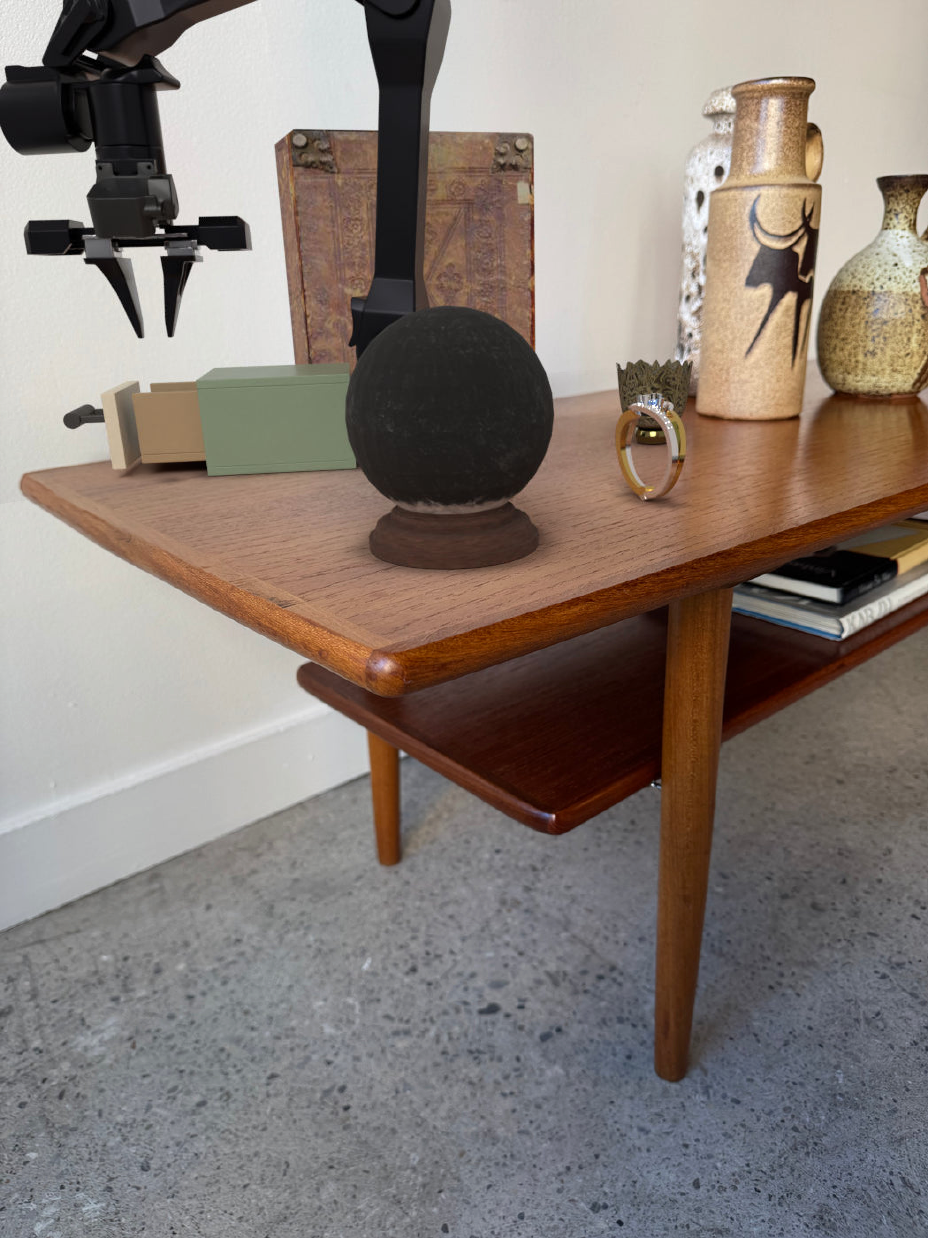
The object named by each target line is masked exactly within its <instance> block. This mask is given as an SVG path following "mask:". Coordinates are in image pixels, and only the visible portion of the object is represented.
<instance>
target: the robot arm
mask: <svg viewBox="0 0 928 1238" xmlns="http://www.w3.org/2000/svg"><path fill="white" fill-rule="evenodd" d="M258 1H259V0H62V9H61V11H60V14H59V17H58V19H57V21H56V23H55V26H54V29H53V31H52V33H51V36H50V38H49V41H48V42H47V45H46V48H45V51H44V53H43V56H42V58H41V63H42V65H33V66H24V65H21V64H11V65H9V64H8V65H5V67H4V76H5V80H6V81H5V82H4V83H3V84H2V85H1V86H0V130H1V132H2V135H3V136H4V138H5V140H6V142H7V143H8V144H9V146H10V147H11V148H12V149H13V150H14V151H15V153H18V154H19V155H21V156H25V157H27V156H43V155H46V156H47V155H60V154H61V155H63V154H79V153H81V154H82V153H86V152H88V151H89V150H90V148H91V146H92V144H93V145H94V152H95V159H94V163H95V167H94V168H95V174H96V179H95V183H93V184H92V186H91V187H90V189H89V191H88V192H87V194H86V195H85V197H86V201H87V205H88V210H89V214H90V218H91V223H92V226H93V227H92V226H91V227H89V226H87V227H86V226H85V224H84V222H83V221H79V220H73V219H35V220H33V219H31V220H28V221H27V223H26V224H25V226H24V228H23V239H24V246H25V249H26V255H27V256H41V257H56V256H57V257H61V256H62V257H63V256H64V257H65V256H66V257H67V256H82V255H83V254H85V257H84V258H82V260H83V262H84V265H89V266H96V267H97V268H98V270H99V271H100V272H101V273H102V275H103V276H104V277H105V278H106V280H107V281H108V283H109V285H110V286H111V288H112V290H113V291H114V293H115V294H116V296H117V298H118V300H119V302H120V304H121V306H122V308H123V311H124V312H125V314H126V317H127V319H128V320H129V322H130V324H131V326H132V329H133V331H134V333H135V335H136V337H137V338H138V339H139V340H141V339H142V340H143V339H145V324H144V315H143V312H142V307H141V303H140V296H139V292H138V287H137V283H136V278H135V273H134V268H133V263H132V258H130V257H123V252H124V249H129V248H130V249H133V248H134V249H135V248H164V250H165V251H166V254H167V255H160V256H159V259H160V264H161V265H160V266H161V270H162V279H163V303H164V305H163V307H164V324H165V329H166V335H167V338H169V339H170V338H174V337H175V334H176V333H175V332H176V329H177V323H178V318H179V314H180V309H181V305H182V300H183V295H184V291H185V289H186V286H187V282H188V279H189V277H190V274H191V272H192V268H193V265H194V264H195V263H204V256H203V255H201V250H202V247H207V249H209V250H210V251H217V252H250V251H253V242H252V232H251V227H250V224H249V223H248V222H247V221H246V220H245V219H244V218H243V217H241V216H239V215H208V216H206V215H205V216H203V215H202V216H198V224H180V225H179V224H178V225H177V224H175V223H174V221H175V220H177V218H178V216H179V213H180V204H179V198H178V192H177V188H176V184H175V182H174V177H173V174H172V173H168V170H167V162H166V154H165V146H164V139H163V131H162V130H163V129H162V122H161V115H160V108H159V98H158V92H166V91H178V90H180V89H181V86H182V85H181V82H180V80H179V79H178V78H176V77H174V75H172V74H171V73H170V72H169V71H168V70H167V69H166V67H164V65H163V64H162V62H161V60H160V59H159V58H158V57H157V56H159V55H160V54H163V52H166V50H168V49H170V48H172V47H173V46H174V44H175V43H176V42H177V41H178V40H179V39H180V37H182V36H183V34H184V33H185V32H186V31H187V30H189V29H190V28H192V27H193V26H196V25H197V24H199V23H201V22H204V21H206V20H210V19H212V18H215V17H218V16H220V15H222V14H226V13H228V12H231V11H234V10H236V9H238V8H241V7H244V6H246V5H249V4H253V3H255V2H258ZM354 1H355V2H356V3H357V4H359V5H360V6H361V7H363V12H364V19H365V27H366V35H367V41H368V46H369V50H370V51H369V52H370V54H371V59H372V64H373V67H374V72H375V77H376V81H377V86H378V88H377V89H378V112H377V113H378V115H377V116H378V117H377V118H378V119H377V130H378V152H377V193H376V233H375V271H374V277H373V281H372V284H371V287H370V290H369V293H368V295H366V296H357V297H352V298H351V314H352V320H353V330H352V336H351V339H350V341H349V344H348V346H349V347H353V346H356V358H357V362H358V359H359V358H360V356H361V355H362V354H363V352H364V351H365V349H366V348H367V346H368V345H369V344H370V342H371V341H372V340H373V339H374V338H375V337H376V336H377V335H378V334H379V333H381V332H382V331H383V330H384V329H385V328H386V327H387V326H389V325H390V324H392V323H394V322H395V321H397V320H398V319H400V318H402V317H403V316H405V315H408V314H410V313H413V312H416V311H419V310H422V309H425V308H430V304H429V300H428V296H427V291H426V287H425V283H424V276H423V268H424V244H425V221H426V198H427V174H428V151H429V131H430V129H431V128H430V127H431V126H430V124H431V122H430V121H431V103H432V102H431V101H432V96H433V92H434V88H435V85H436V82H437V80H438V76H439V73H440V70H441V67H442V64H443V61H444V56H445V51H446V46H447V42H448V36H449V31H450V26H451V21H452V1H451V0H354ZM86 51H88V52H90V53H92V54H95V55H96V58H93V57H91V56H88V55H86V54H84V53H85V52H86ZM174 224H175V225H174ZM157 229H159V230H164V233H156V232H157Z"/></svg>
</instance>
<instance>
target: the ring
mask: <svg viewBox="0 0 928 1238" xmlns="http://www.w3.org/2000/svg"><path fill="white" fill-rule="evenodd" d="M649 398H650V400H649ZM664 400H665V398H662V394H660V393H658V394H657V395H656V400H655V393H651V394H649V396H648V394H645V395H643V402H642V395H638V396H636V397H635V403H634V404H632V405H630V406H628V408H629V410H628V411H626V412H624V413H621V415H620V416H619V418H618V419H617V422H616V425H615V434H614V440H615V441H614V442H615V448H616V449H615V451H616V456H617V461H618V464H619V465H618V466H619V468H620V470H621V473H622V476H623V478H624V480H625V482H626V484H627V485H628V487H629V488H630V489H631V490H632V492H634V493H635V494H636V495H638V497H639V499H640V500H641V501H650V500H651V501H652V500H655V498H661V497H664V496H666V495H667V494H669V493H670V492H671V491H672V490H673V489H674V487H675V485H676V484H677V482H678V480H679V479H680V476H681V473H682V471H683V467H684V463H685V459H686V453H687V436H686V435H687V434H686V430H685V429H686V428H685V427H684V424H683V421H682V419H681V418H679V416H678V415H677V414H676V413H675V412H674V411H673V407H674V406H673V404H672V403H670V402H667V401H664ZM663 408H665V409H664V410H663ZM641 416H648V417H653V418H654V419H655V420H656V421H657V422H658V423H659V424H660V426H661V427H662V429H663V431H664V434H665V437H666V441H667V442H666V445H667V464H666V465H667V466H666V470H665V472H664V476H663V477H662V480H661V482H660V483H659V484H658V485H657V486H656V487H655V486H654V485H651V484H650V485H646V484H644V483H643V481H642V480H641V479H640V477H639V475H638V474H637V471H636V469H635V466H634V462H633V457H632V440H633V436H634V432H635V429H636V427H635V425H636V423H637V421H638V420H639V418H640V417H641Z"/></svg>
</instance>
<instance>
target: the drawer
mask: <svg viewBox="0 0 928 1238" xmlns="http://www.w3.org/2000/svg"><path fill="white" fill-rule="evenodd" d="M149 388H150V392H141V386H140V380H127V381H125V382H122V383H121V384H118V385H117V386H114V387H112V388H110V389H108V390H106V391H104V392H102V393H100V400H101V405H102V408H96V407H95V406H93V405H92V404H88V403H87V404H85V403H84V404H83V405H81V406H79V407H77V408H75V409H73V410H70V411H69V412H67V413H65V414H64V415H63V418H62V422H63V424H64V427H66V428H68V429H70V430H76V429H78V428H80V427H82V426H83V425H85V424H101V423H102V424H103V423H104V424H105V429H106V436H107V442H108V448H109V454H110V461H111V466H112V470H113V471H119V470H127V469H128V468H129V467H130V466H132V465H133V464H134V463H135V462H136V461H137V460H138V459H140V458H141V463H142V464H143V465H145V464H163V463H183V462H185V463H187V462H204V461H205V462H206V456H205V448H204V440H203V433H202V425H201V417H200V409H199V401H198V394H197V385H196V380H195V381H193V380H191V381H170V382H169V381H167V382H152V383H149Z"/></svg>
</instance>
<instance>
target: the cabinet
mask: <svg viewBox="0 0 928 1238" xmlns="http://www.w3.org/2000/svg"><path fill="white" fill-rule="evenodd" d="M350 377H351V375H350V363H326V364H301V365H295V364H279V365H278V364H277V365H276V364H275V365H255V366H254V365H253V366H231V367H230V366H229V367H226V366H225V367H213V368H211V369H210V370H209V371H208V372H206V373H204V374H203V375H201V376H200V377H199V378H197V379H196V380H195V381H196V385H197V394H198V401H199V409H200V417H201V425H202V433H203V440H204V448H205V456H206V461H205V462H206V463H205V464H206V471H207V476H208V477H216V476H219V477H220V476H237V475H254V474H255V475H257V474H277V473H278V474H279V473H294V472H298V473H299V472H315V471H334V470H335V471H336V470H337V471H338V470H354V469H358V468H357V461H356V458H355V456H354V453H353V450H352V448H351V445H350V443H349V440H348V434H347V428H346V422H345V402H346V395H347V390H348V386H349V381H350Z"/></svg>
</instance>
